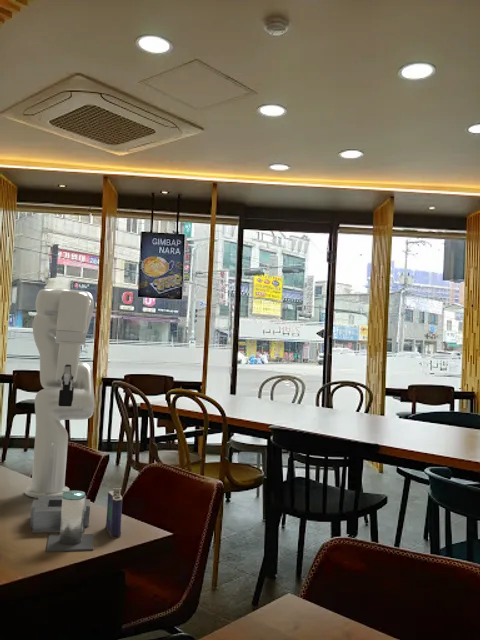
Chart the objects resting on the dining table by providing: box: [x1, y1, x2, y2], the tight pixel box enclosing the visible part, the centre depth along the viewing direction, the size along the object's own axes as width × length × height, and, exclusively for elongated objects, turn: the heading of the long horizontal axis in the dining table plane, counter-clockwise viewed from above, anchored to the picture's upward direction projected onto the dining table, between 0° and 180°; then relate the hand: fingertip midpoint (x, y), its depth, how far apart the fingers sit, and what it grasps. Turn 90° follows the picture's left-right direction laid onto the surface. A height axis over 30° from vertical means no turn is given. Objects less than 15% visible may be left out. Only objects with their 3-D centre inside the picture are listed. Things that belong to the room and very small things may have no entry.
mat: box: [45, 533, 94, 553], centre depth 128 cm, size 10×10×1 cm
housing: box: [29, 495, 91, 534], centre depth 142 cm, size 14×14×5 cm
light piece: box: [59, 490, 86, 545], centre depth 128 cm, size 5×5×11 cm
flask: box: [105, 487, 123, 539], centre depth 138 cm, size 9×3×11 cm, turn 22°
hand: (65, 403), depth 146 cm, fingers open, 9 cm apart
